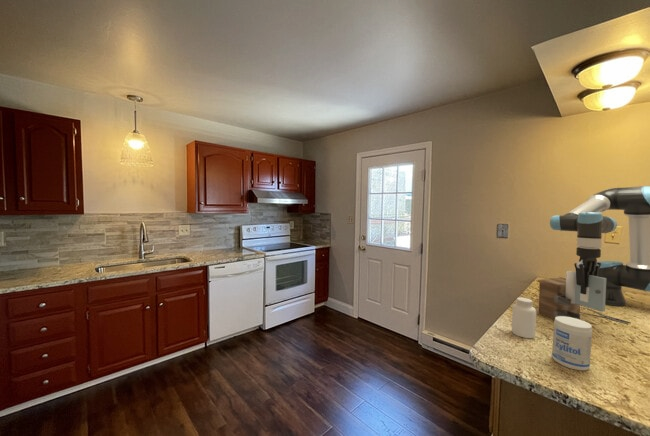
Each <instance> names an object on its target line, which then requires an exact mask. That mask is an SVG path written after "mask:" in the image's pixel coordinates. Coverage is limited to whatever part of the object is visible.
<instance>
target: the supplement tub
mask: <svg viewBox="0 0 650 436" xmlns="http://www.w3.org/2000/svg"><path fill="white" fill-rule="evenodd" d="M592 326H593V325H592V324H590V323H589V322H587V321H585V320H583V319H580V320H579V319H576V318H572V317H565V316H557V317H555V320H554V322H553V330H552V331H553V335H552V348H551V357H552V359H553V360H554V361H555V362H556V363H558V364H559V365H561V366H563V367H566V368H569V369H572V370H576V371H588V370H589V369H590V368H591V354H592V339H593V327H592Z"/></svg>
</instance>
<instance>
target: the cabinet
mask: <svg viewBox="0 0 650 436" xmlns="http://www.w3.org/2000/svg"><path fill="white" fill-rule="evenodd" d="M537 283H538V284H539V287H538V289H539V292H538V311H537V312H538V315H540V316H544V317H546V318H549V319H552V320H554V321H555V317H557V316H565V317H572V318H576V319H579V320H581V313H580V312H581V311H580V310H581V305H577V304H573V303H571V300H570V299H566V298H565V295H566V277H563V276H561V277H553V278H550V277H549V278H543V279H537Z"/></svg>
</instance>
